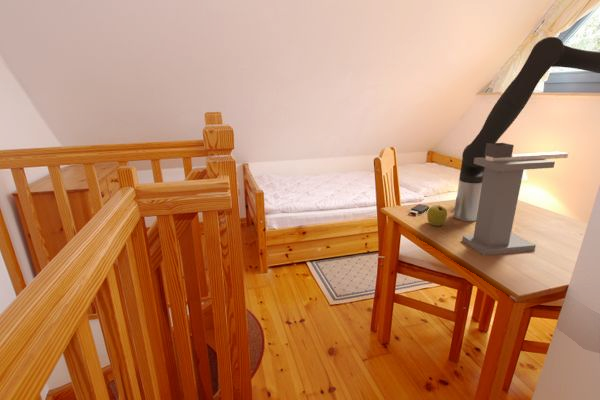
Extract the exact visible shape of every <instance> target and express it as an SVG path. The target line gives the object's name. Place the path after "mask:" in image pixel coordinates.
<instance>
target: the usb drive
mask: <svg viewBox="0 0 600 400" xmlns="http://www.w3.org/2000/svg"><path fill="white" fill-rule="evenodd" d="M428 209H430V206H429V205H426V204H421V203H419V204H417V205H415V206H413V207H411V208H410V211H409V214H412V215H411V216H413V215H418V214H422V213H423V214H425V213H426V212H428V211H427V210H428ZM425 211H426V212H425ZM424 212H425V213H424ZM423 214H422V215H423ZM418 216H419V215H418Z"/></svg>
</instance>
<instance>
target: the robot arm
mask: <svg viewBox="0 0 600 400" xmlns="http://www.w3.org/2000/svg"><path fill="white" fill-rule="evenodd" d="M553 67H554V68H557V67H558V68H568V69H575V70H576V69H577V70H582V71H586V72H587V71H588V72H592V73H596V74H600V50H594V49H583V48H575V47H572V46H569V45H566V44H564V42H563V40H562V39H561V38H559V37H557V36H546V37H544V38H542V39H540V40H539V41H538V42H536V44H535V45H534V46H533V48H532V49H531V51H530V54H529V56H528V57H527V58H526V61H525V63H524V64H523V66H522V67H521V69H520V71H519V72H518V74H517V75H516V76H515V78H514V79H513V80H512V81H511V82H510V84H509V85H508V86H507V87H506V89H504V91H503V93H501V95H500V97H499V98H498V99H497V101H496V103H495V104H494V106H493V107H492V109H491V111H490V112H489V114H488V115H487V117H486V119H485V121H484V124H483V125H482V128H481V129H480V131H479V133H478V134H477V135H476V136H475V137H474V139H473V140H472V141H471V142H470V143H469V144H468V145H466V146H465V147H464V149H463V150H462V151H463V152H462V158H461V166H460V172H459V179H458V186H457V193H456V194H457V195H456V197H455V202H454V203H455V205H454V209H453V219H457V220H459V221H463V222H476V218H477V212H478V206H479V200H480V193H481V187H482V181H483V175H484V168H485V167H483V166H480V165H477V164H474V158H482V157H486V156H485V149H486V144H487V143H498V140H499V139H500V138H501V137H502V136H503V135H504V134H505V133H506V131H507V130H508V129H509V128H510V126H511V125H512V124H513V123H514V121H515V120H516V119H517V118H518V116H519V115H520V113H522V111H523V110H524V108H525V106H526V105H527V104H528V102H529V100H530V99H531V97H532V95H533V93H534V91H535V89H536V87H537V86H538V84H539V83H540V81H541V80H542V78H543V77H544V76H545V74H546V73H547V72H549V70H550V69H551V68H553Z"/></svg>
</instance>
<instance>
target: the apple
mask: <svg viewBox="0 0 600 400" xmlns="http://www.w3.org/2000/svg"><path fill="white" fill-rule="evenodd" d="M426 217H427V218H426V219H427V221H428V224H430V225H431V226H435V227H440V226H441V225H443V224H444V223H445V222H446V220H447V217H448V211H447V209H446V208H445V207H443V206H441V205H432V206H431V207H429V210H428V211H427V215H426Z"/></svg>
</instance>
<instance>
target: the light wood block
mask: <svg viewBox="0 0 600 400" xmlns="http://www.w3.org/2000/svg"><path fill="white" fill-rule="evenodd" d="M514 146H515V145H514V144H510V143H505V142H496V143H487V144H486V149H485V156H486V159H485V160H487V161H490V162H504V161H522V160H539V159H545V160H553V159H555V160H556V159H567V158H568V157H569V153H567V152H564V151H563V152H562V151H550V152H549V151H548V152H547V151H546V152H545V151H544V152H531V153H529V152H528V153H513V151H514V148H515V147H514Z"/></svg>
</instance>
